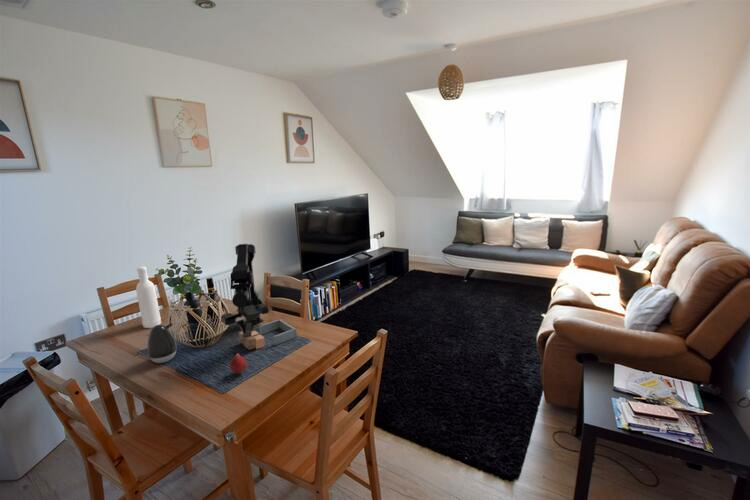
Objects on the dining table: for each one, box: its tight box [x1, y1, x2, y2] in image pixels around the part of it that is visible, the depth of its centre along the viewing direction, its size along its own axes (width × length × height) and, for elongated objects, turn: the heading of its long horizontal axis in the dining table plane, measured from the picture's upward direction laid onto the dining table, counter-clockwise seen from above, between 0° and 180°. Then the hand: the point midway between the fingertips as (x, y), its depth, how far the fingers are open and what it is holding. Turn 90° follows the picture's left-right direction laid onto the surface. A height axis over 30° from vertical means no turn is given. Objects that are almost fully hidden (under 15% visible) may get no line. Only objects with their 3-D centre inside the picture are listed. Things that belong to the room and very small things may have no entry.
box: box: [258, 318, 298, 346], centre depth 162 cm, size 15×10×4 cm
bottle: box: [135, 266, 162, 329], centre depth 174 cm, size 8×8×30 cm
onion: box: [229, 353, 248, 374], centre depth 133 cm, size 6×6×8 cm
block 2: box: [254, 334, 266, 350], centre depth 153 cm, size 4×4×4 cm
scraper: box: [238, 320, 256, 351], centre depth 152 cm, size 11×3×10 cm, turn 42°
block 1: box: [251, 330, 260, 337], centre depth 157 cm, size 4×4×4 cm
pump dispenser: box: [146, 322, 178, 364], centre depth 143 cm, size 10×10×15 cm
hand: (247, 332), depth 152 cm, fingers closed on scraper, 3 cm apart
